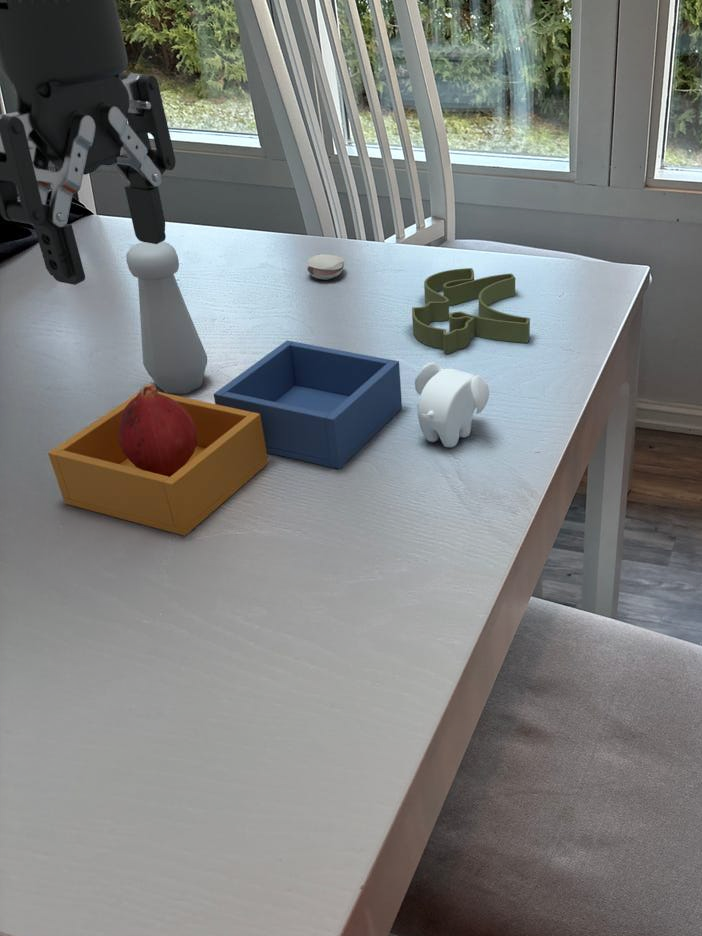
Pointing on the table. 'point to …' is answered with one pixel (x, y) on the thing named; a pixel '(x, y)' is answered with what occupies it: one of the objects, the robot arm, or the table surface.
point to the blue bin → (317, 400)
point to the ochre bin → (153, 495)
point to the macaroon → (325, 266)
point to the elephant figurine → (448, 402)
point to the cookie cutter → (463, 325)
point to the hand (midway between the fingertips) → (112, 260)
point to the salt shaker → (166, 320)
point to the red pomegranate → (156, 432)
